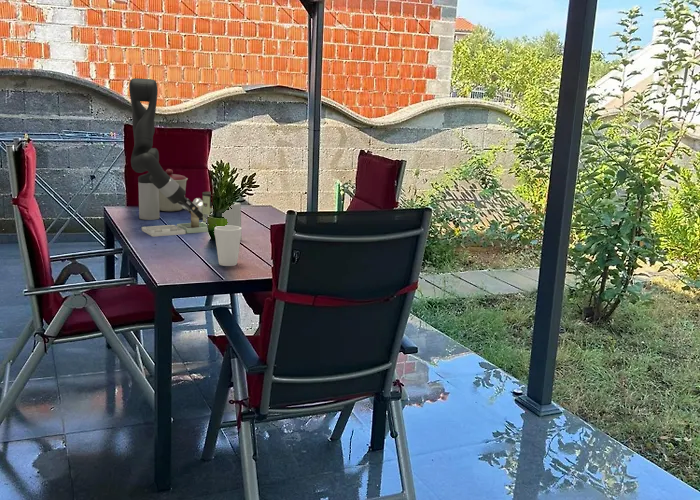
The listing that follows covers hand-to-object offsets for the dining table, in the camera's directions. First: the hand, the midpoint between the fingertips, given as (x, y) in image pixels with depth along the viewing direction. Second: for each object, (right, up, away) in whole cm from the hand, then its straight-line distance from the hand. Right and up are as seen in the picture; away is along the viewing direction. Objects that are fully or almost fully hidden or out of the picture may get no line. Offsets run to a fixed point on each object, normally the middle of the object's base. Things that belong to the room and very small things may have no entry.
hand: (198, 215), depth 285 cm
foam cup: (+23, -20, -51) cm, 60 cm away
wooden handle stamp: (-1, -6, +1) cm, 6 cm away
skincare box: (+16, -11, -12) cm, 23 cm away
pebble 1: (-14, -7, -13) cm, 20 cm away
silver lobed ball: (-7, 0, +34) cm, 34 cm away
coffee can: (+2, -2, +25) cm, 25 cm away
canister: (-27, +5, +53) cm, 60 cm away
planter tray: (-1, -7, +1) cm, 7 cm away
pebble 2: (-8, -7, -9) cm, 14 cm away
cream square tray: (-13, -8, -7) cm, 17 cm away
